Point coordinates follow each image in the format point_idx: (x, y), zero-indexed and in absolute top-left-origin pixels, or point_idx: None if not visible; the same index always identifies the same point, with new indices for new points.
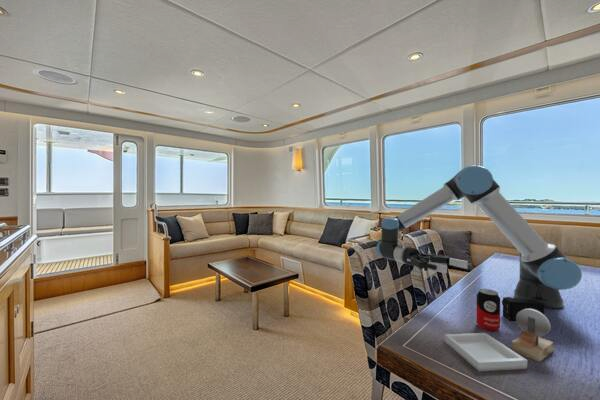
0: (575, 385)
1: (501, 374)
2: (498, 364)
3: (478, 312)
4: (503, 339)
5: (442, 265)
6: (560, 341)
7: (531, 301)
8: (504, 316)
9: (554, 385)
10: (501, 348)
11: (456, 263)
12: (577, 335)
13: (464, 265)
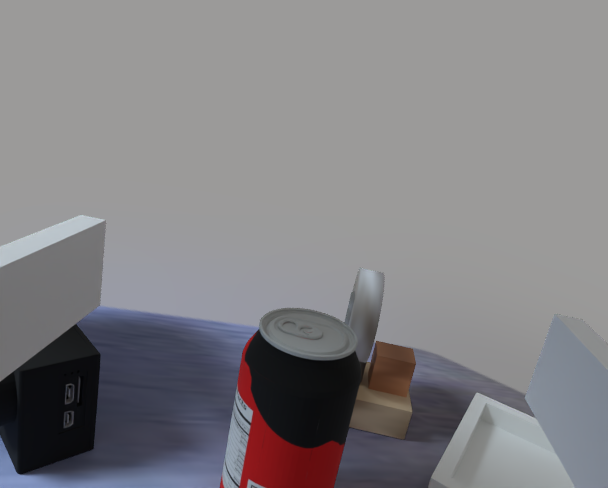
0: (427, 362)
1: None
2: None
3: (332, 475)
4: (342, 459)
5: (603, 340)
6: (191, 353)
7: None
8: (41, 464)
9: (474, 384)
10: (468, 442)
11: (20, 321)
12: (97, 323)
13: (90, 280)
